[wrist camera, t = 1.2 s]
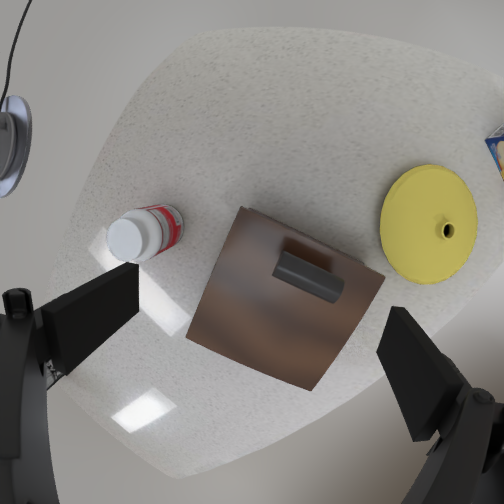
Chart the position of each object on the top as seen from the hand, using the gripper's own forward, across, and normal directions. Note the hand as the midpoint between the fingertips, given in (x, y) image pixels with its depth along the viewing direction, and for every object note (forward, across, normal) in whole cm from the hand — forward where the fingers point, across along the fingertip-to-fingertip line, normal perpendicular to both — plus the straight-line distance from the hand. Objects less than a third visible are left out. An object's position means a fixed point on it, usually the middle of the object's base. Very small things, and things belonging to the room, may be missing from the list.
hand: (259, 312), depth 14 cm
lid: (+16, +2, -7) cm, 18 cm away
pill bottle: (+24, -16, -1) cm, 29 cm away
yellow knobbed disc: (+25, +20, +5) cm, 32 cm away
